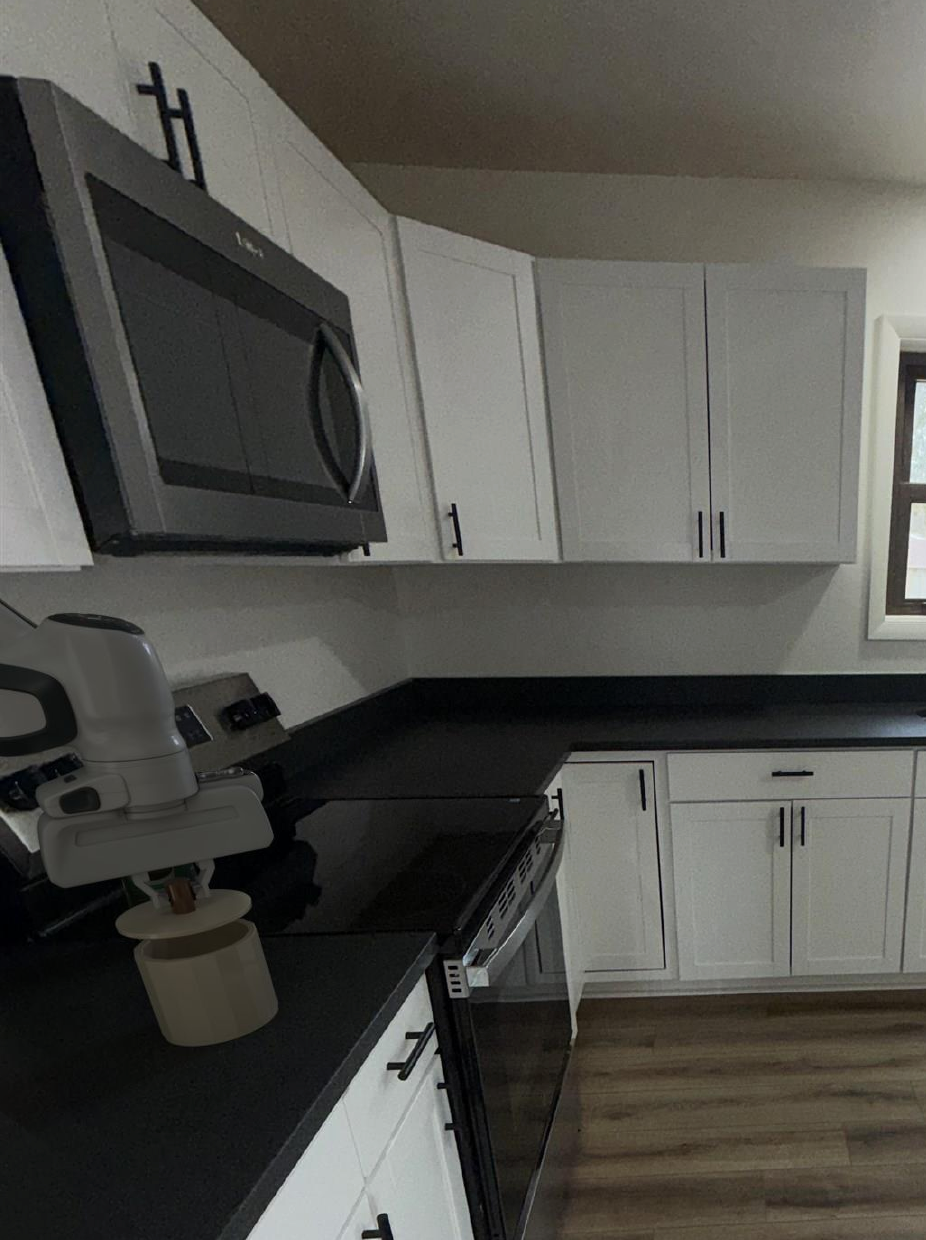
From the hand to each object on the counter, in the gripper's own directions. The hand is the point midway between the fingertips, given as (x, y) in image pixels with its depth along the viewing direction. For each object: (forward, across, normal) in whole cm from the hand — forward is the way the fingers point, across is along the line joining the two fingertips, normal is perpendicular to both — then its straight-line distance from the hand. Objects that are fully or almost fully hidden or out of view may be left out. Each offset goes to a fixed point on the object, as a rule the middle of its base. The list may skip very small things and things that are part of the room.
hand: (182, 902), depth 92 cm
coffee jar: (+15, -2, -32) cm, 35 cm away
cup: (+15, 0, 0) cm, 15 cm away
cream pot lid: (+2, 0, 0) cm, 2 cm away
